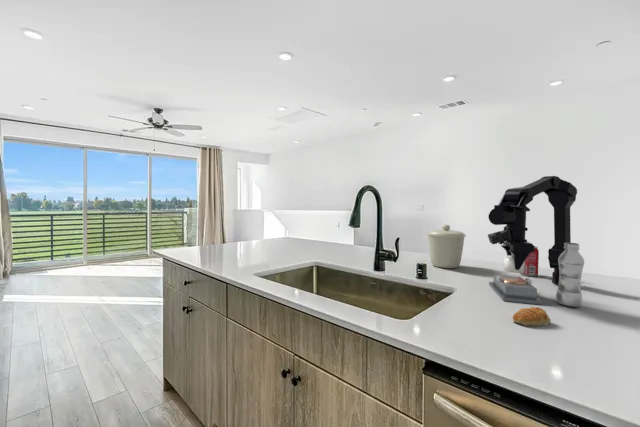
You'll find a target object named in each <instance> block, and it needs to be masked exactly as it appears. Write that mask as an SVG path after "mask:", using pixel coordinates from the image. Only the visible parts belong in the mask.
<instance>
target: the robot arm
mask: <svg viewBox="0 0 640 427" xmlns="http://www.w3.org/2000/svg"><path fill="white" fill-rule="evenodd" d="M542 193H544V194H545V195H546V196H547V198H548V202H549V203H550V204H551V206H552V207H553V224H554V225H553V227H554V228H553V231H554V232H553V234H554V235H553V236H554V238H553V239H554V244H553V245H552V246H551V248H548V250H547V253H548V256H547V258H548V264H549V268H550V269H553V271H552V276H551V283H552V284H554V285H555V286H557V287H558V285H559V276H560V275H559V263H558V258H559V256H560V255H561V253H563V252H564V251H565V249H564V243H572V242H571V239H572V238H571V207H572V206H573V205H574V203H575V202H576V201H577V200H576V199H577V195H578V189H577V187H576V186H575V185H573V184H572V183H571V182H569V181H567V180H564V179H561V178H560V177H559V176H557V175H550V176H549V175H547V176H546V175H545V176H543V177H541V178H540V179H537V180H535V181H533V182H531V183H528V184H526V185H524V186H521V187H513V188H507V189H506V190H505V191H504V194H503V195H502V197H501V199H500V201H499V203H498V204H495V205H494V206H493V208H492V209H491V210H490V212H489V214H488V220H489V222H490V224H491V225H494V226H501V225H505V226H504V227H503V229H502V230H500V231H495V232H492V233H489V234H487V238H488V241H489V243H490V244H491V245H497V244H499V245H500V247H501V248H503V249H504V250H505V252H506V256H511V253H512V254H513V258H514V265H515V269H516V270H519V269H520V268H521V266H522V264H523V263H524V261H525V260H526V258H527V257H528V255H529V254H530V253H531V252H535V245H534V244H533V243H532V242H529V241H528V239H526V232H527V231H528V230H529V229H528V227H526V226H527V212H531V209H530V207H529V206H527V205H529V204H530V203H531V202H533V200H534V198H535V196H538V195H540V194H542Z"/></svg>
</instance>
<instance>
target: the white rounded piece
mask: <svg viewBox="0 0 640 427" xmlns="http://www.w3.org/2000/svg"><path fill="white" fill-rule="evenodd" d="M524 266H525V261H524V263H523V264H522V266H521V268H520V269H519V270H516V269H515V265H514V258H513V254H512V253H511V256H507V255H504V265H503V267H504V271H505V272H508V273H513V274H520V273H524Z"/></svg>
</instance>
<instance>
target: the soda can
mask: <svg viewBox="0 0 640 427" xmlns="http://www.w3.org/2000/svg"><path fill="white" fill-rule="evenodd" d="M534 246H535V245H534ZM539 252H540V250H539V249H538V246H535V252H531V253H530V254H529V255H528V257H527V258H526V260H525V266H524V273H519V275H521V276H523V275H525V276H524V277H530V276H532V278H533V277H534V276H535V277H537V276H538V274H539V260H540V259H539V258H540V256H539Z"/></svg>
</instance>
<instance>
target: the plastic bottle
mask: <svg viewBox="0 0 640 427" xmlns="http://www.w3.org/2000/svg"><path fill="white" fill-rule="evenodd" d="M564 249H565V251H564V252H563V253H561V255H560V256H559V258H558V263H559V275H560V276H559V285H558V286H557V290H556V292H555V293H556V294H555V298H556V301H557V302H558V304H561V305H563V306H567V307H572V308H578V307H580V306H581V305H582V303H583V295H582V284H581V281H582V276H583V274H582V273H583V269H584V267H585V266H584V265H585V259H584V257H583V256H582V254H581V253H580V252H579V251H580V243H576V242H575V243H574V242H571V243H564Z"/></svg>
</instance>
